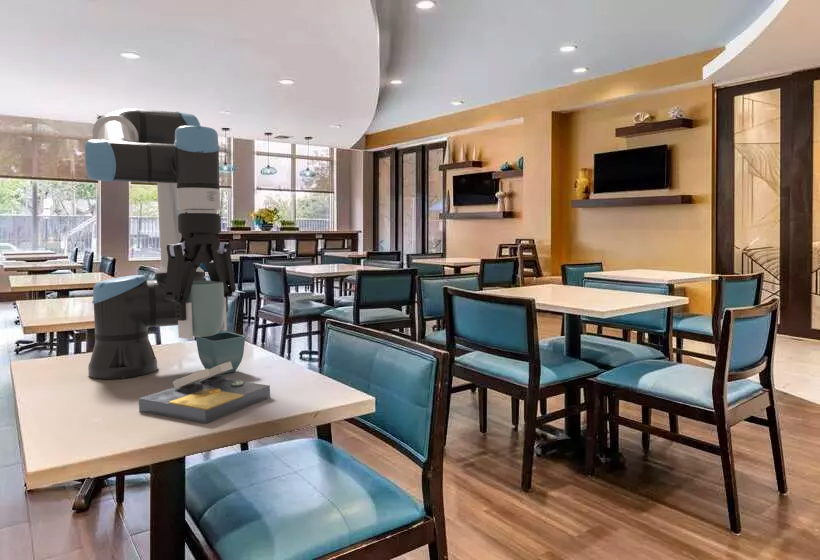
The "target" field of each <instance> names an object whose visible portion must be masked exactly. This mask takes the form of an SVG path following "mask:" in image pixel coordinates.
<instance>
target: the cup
mask: <svg viewBox="0 0 820 560" xmlns="http://www.w3.org/2000/svg"><path fill="white" fill-rule="evenodd" d="M181 295H182V294H181ZM187 302H191V303H192V330H193V338H194V337H195V338H196V337H207V336H213V335H215V334H217V333H220V332H221V331H220V330H221V328H222V326H223V321H224V284H223V281H220V282H215V281H193V284H192V287H191V290H190V294H189V297H188V301H187Z"/></svg>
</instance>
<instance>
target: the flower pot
mask: <svg viewBox="0 0 820 560" xmlns="http://www.w3.org/2000/svg"><path fill="white" fill-rule="evenodd" d="M195 342H196V347H197V353H198V358H199V360H200V362H201V364H202V366H203V368H204V369H207V368H208V370H209V369H211V368H213V367H215V366H218V365H220V364H223V363H227V362H230V361H231V364H232V367H233V369H231V370H228V371H226V372H224V373H221V374H219V375H220V376H221V375H223V374H229V373H235V372H236V371H237V370H238V368H239V367H240V365H241V362H242V360H243V357H244V352H245V342H246V336H245V335H242V334H239V333H235V332H230V331H222V332H218V333H217V334H215V335H213V336H207V337H195Z"/></svg>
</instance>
